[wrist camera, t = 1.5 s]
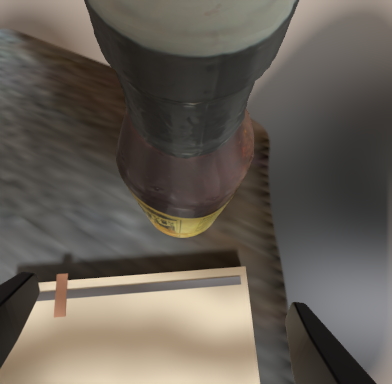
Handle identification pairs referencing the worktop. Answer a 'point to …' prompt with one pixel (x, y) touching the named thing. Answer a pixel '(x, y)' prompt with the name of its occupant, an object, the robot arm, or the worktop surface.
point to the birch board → (138, 331)
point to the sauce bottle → (187, 98)
